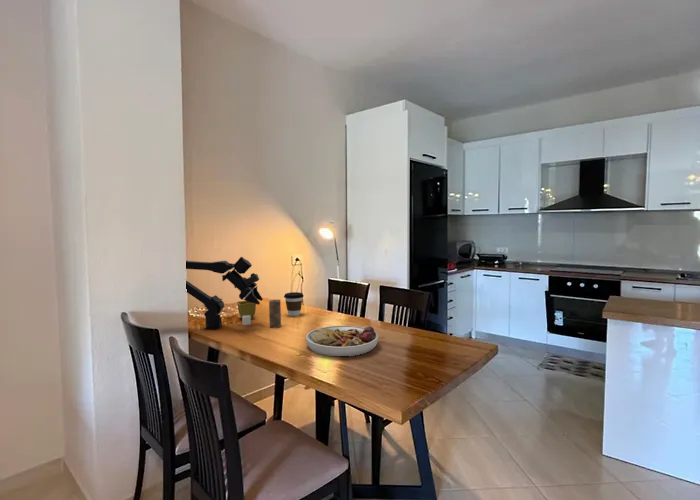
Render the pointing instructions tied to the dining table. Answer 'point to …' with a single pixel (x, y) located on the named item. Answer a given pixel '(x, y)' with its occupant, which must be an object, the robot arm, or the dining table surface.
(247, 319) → the ceramic cube
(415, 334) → the dining table surface
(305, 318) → the dining table surface
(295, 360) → the dining table surface
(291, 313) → the coffee cup
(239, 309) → the flower pot
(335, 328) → the bowl
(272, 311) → the walnut block
